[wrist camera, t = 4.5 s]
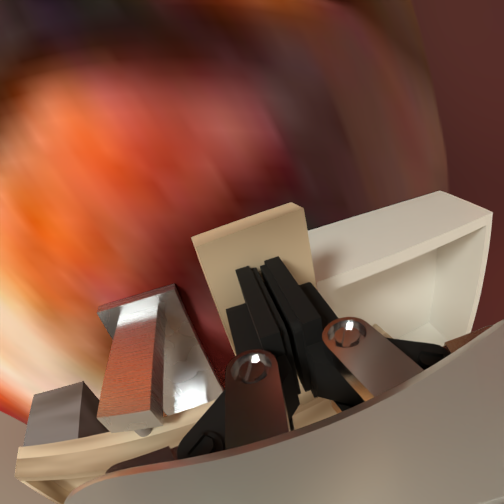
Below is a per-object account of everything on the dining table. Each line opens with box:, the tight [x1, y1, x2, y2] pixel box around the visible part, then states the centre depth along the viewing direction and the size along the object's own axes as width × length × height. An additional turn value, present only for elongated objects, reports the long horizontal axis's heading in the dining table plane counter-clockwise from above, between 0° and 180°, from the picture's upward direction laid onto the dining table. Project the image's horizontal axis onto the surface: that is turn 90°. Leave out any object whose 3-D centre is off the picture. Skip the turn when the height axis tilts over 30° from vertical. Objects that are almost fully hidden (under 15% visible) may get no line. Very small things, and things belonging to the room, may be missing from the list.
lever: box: [15, 203, 392, 504], centre depth 14 cm, size 16×24×8 cm, turn 104°
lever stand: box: [97, 283, 224, 433], centre depth 18 cm, size 13×6×10 cm, turn 14°
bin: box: [308, 191, 493, 346], centre depth 21 cm, size 15×15×6 cm
